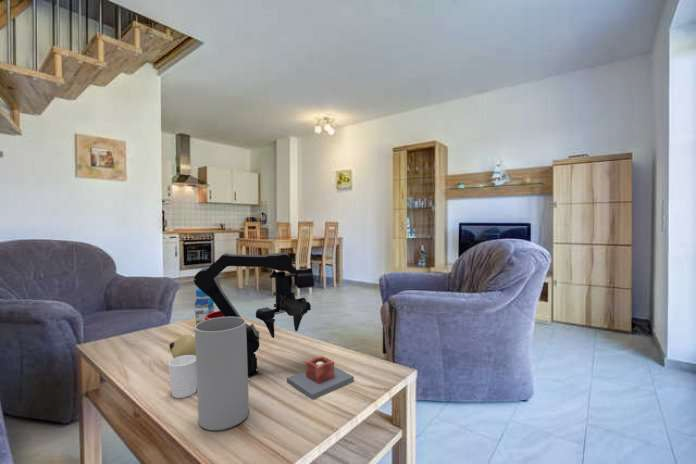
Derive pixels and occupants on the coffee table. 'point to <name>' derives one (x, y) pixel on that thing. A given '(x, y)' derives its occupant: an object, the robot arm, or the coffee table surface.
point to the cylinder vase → (221, 372)
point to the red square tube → (320, 369)
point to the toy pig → (183, 346)
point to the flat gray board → (322, 388)
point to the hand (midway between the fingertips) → (284, 334)
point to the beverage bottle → (202, 306)
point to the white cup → (183, 376)
